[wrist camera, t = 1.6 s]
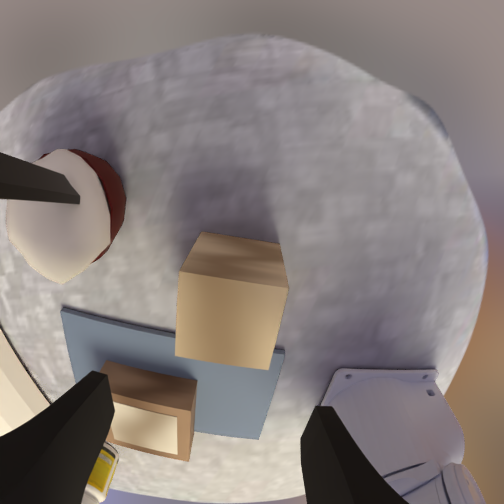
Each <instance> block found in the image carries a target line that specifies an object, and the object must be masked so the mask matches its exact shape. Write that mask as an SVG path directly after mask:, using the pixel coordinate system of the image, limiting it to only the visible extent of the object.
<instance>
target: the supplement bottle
mask: <svg viewBox="0 0 504 504" xmlns="http://www.w3.org/2000/svg"><path fill="white" fill-rule="evenodd" d="M118 460H119V455H118V453H117V452H116V451H115V450H114V449H113V448H112V447H111V446H110V445H108V444H107V443H104V445H103V447H102V449H101V452H100V454H99V456H98V458H97V461H96V463H95V465H94V468H93V470H92V472H91V475H90V477H89V479H88V482H87V485H86V488H85V491H84V495H83V499H82V503H81V504H99V503H98V502H102V501H104V500H105V498H106V496H107V492H108V490H109V487H110V484H111V481H112V478H113V475H114V472H115V469H116V466H117V463H118Z"/></svg>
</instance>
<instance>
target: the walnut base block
mask: <svg viewBox="0 0 504 504" xmlns="http://www.w3.org/2000/svg"><path fill="white" fill-rule="evenodd" d="M100 373H104V374H107V375H108V379H109V384H110V389H111V394H112V399H113V403H114V408H115V413H114V417H113V420H112V424H111V427H110V430H109V433H108V436H107V438H106V441H107V442H110V443H113V444H117V445H120V446H124V447H127V448H131V449H134V450H138V451H142V452H146V453H150V454H154V455H159V456H163V457H168V458H173V459H178V460H183V461H188V462H189V458H190V452H191V447H192V441H193V436H194V424H195V409H196V395H197V382H198V381H197V380H192V379H186V378H181V377H176V376H171V375H166V374H161V373H157V372H152V371H148V370H143V369H139V368H135V367H131V366H127V365H123V364H119V363H115V362H111V361H108V360H106V361H105V363H104V365H103V367H102V368H101V370H100Z"/></svg>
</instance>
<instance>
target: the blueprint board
mask: <svg viewBox="0 0 504 504" xmlns="http://www.w3.org/2000/svg"><path fill="white" fill-rule="evenodd" d="M61 317H62V323H63V328H64V334H65V339H66V343H67V348H68V353H69V357H70V361H71V365H72V370H73V373H74V377H75V381H76V383H78V382H79V381H80V380H81V379H82V378H83V377H85V376H86V375H87V374H88V373H89V372H91V371H92V370H93V371H97V372H100V370H101V368H102V367H103V365H104V363H105V361H106V360H108V361H111V362H115V363H119V364H123V365H127V366H131V367H135V368H139V369H143V370H148V371H152V372H157V373H161V374H166V375H171V376H176V377H181V378H186V379H192V380H197V381H198V382H197V395H196V409H195V424H194V431H196V432H201V433H208V434H214V435H221V436H229V437H237V438H247V439H257V440H259V437H260V434H261V431H262V428H263V425H264V422H265V419H266V416H267V413H268V409H269V406H270V403H271V400H272V397H273V394H274V390H275V387H276V384H277V381H278V377H279V374H280V371H281V367H282V364H283V361H284V357H285V350H280V349H274V351H273V354H272V358H271V362H270V366H269V370H263V369H254V368H247V367H239V366H232V365H225V364H219V363H212V362H206V361H200V360H195V359H189V358H184V357H178V356H175V338H176V334H174V333H169V332H164V331H159V330H154V329H149V328H145V327H140V326H135V325H131V324H127V323H122V322H118V321H114V320H110V319H105V318H101V317H97V316H93V315H90V314H86V313H82V312H78V311H75V310H71V309H67V308H63V309H62V310H61Z"/></svg>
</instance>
